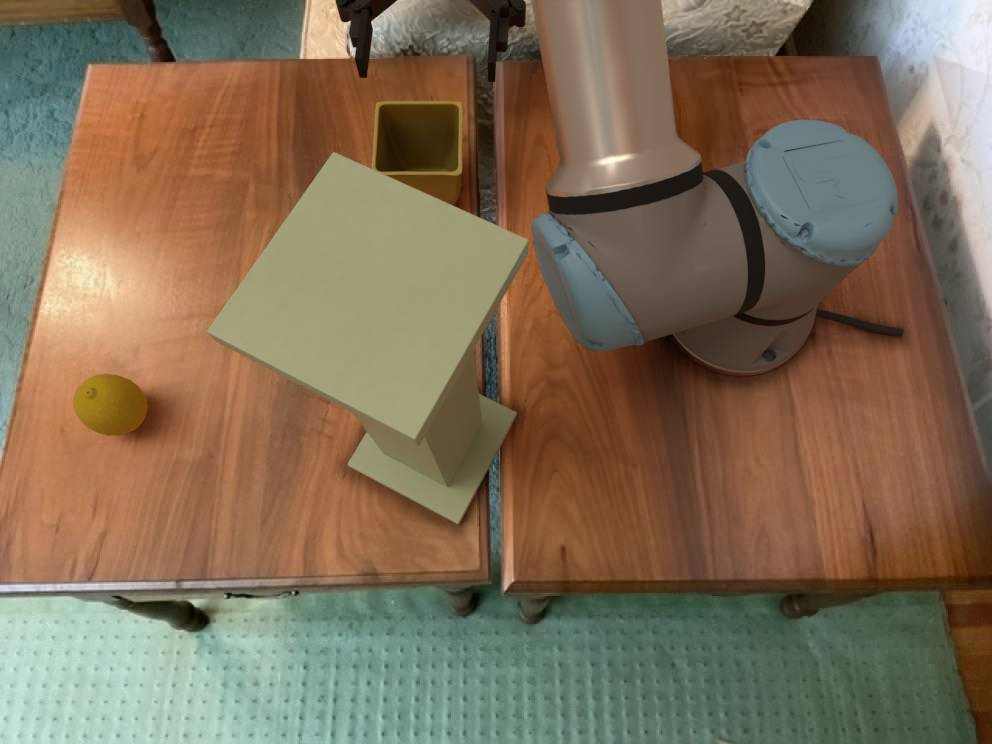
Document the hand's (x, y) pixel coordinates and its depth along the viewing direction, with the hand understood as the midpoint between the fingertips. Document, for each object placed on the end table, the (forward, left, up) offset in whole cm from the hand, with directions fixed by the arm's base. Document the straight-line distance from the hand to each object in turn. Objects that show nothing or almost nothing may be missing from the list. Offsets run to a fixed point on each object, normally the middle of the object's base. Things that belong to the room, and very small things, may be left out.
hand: (425, 71), depth 72 cm
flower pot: (-4, +8, -8) cm, 12 cm away
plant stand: (-18, +33, -8) cm, 38 cm away
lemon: (+9, +44, -8) cm, 46 cm away
